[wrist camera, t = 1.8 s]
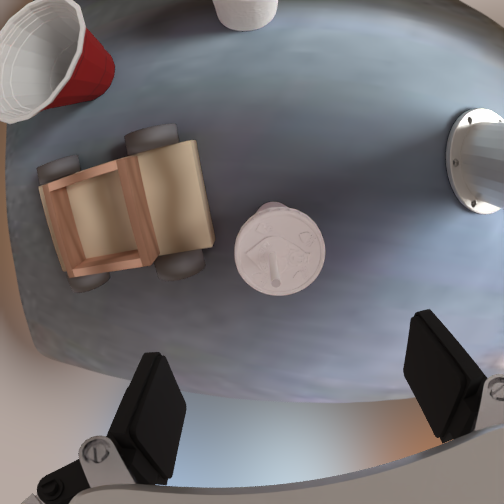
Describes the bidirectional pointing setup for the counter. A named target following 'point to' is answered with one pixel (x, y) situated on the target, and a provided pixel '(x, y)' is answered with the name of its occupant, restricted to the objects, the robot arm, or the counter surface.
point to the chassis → (129, 210)
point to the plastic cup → (49, 60)
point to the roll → (245, 13)
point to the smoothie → (279, 250)
